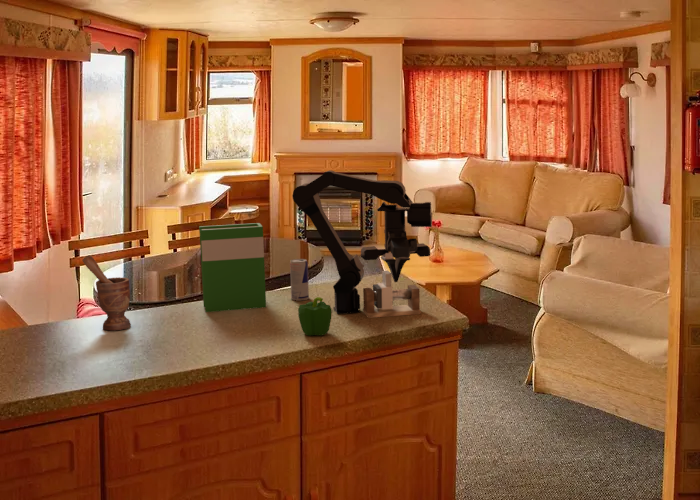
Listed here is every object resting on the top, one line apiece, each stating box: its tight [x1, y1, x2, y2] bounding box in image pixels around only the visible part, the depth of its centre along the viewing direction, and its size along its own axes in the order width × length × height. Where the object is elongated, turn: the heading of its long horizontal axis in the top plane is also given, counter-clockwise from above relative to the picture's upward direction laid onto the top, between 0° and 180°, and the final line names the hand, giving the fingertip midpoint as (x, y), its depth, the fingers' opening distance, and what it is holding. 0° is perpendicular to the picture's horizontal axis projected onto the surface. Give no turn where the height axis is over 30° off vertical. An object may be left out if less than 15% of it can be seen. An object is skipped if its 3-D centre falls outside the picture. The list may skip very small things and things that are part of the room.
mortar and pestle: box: [82, 255, 132, 331], centre depth 207 cm, size 12×9×20 cm
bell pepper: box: [297, 297, 332, 337], centre depth 198 cm, size 8×8×10 cm
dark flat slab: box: [372, 283, 382, 309], centre depth 217 cm, size 1×6×6 cm, turn 11°
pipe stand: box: [362, 284, 421, 318], centre depth 218 cm, size 15×7×7 cm, turn 101°
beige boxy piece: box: [376, 270, 394, 310], centre depth 217 cm, size 3×6×10 cm, turn 11°
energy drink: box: [289, 258, 310, 302], centre depth 235 cm, size 5×5×12 cm
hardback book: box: [198, 222, 267, 313], centre depth 226 cm, size 18×7×24 cm, turn 104°
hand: (395, 281), depth 217 cm, fingers closed
